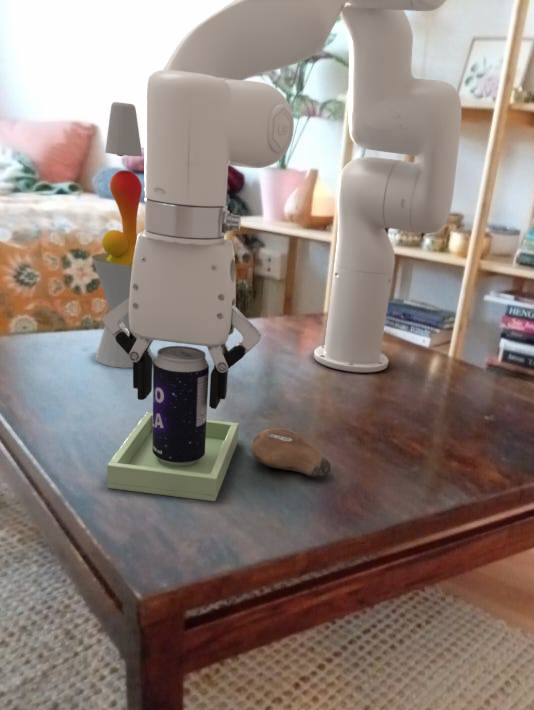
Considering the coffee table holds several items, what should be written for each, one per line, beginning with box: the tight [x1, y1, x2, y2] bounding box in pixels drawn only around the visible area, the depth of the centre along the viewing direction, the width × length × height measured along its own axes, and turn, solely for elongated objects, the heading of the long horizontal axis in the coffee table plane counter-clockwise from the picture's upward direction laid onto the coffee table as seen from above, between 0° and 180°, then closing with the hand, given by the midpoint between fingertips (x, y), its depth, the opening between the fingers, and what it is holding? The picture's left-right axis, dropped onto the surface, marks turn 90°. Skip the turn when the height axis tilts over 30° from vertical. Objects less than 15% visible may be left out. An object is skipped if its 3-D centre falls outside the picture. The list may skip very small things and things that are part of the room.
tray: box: [106, 411, 239, 502], centre depth 77 cm, size 15×11×3 cm
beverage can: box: [152, 345, 210, 467], centre depth 75 cm, size 6×6×12 cm
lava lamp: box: [91, 101, 154, 369], centre depth 101 cm, size 9×9×35 cm
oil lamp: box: [250, 427, 332, 478], centre depth 79 cm, size 9×4×8 cm
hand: (179, 398), depth 74 cm, fingers open, 6 cm apart
